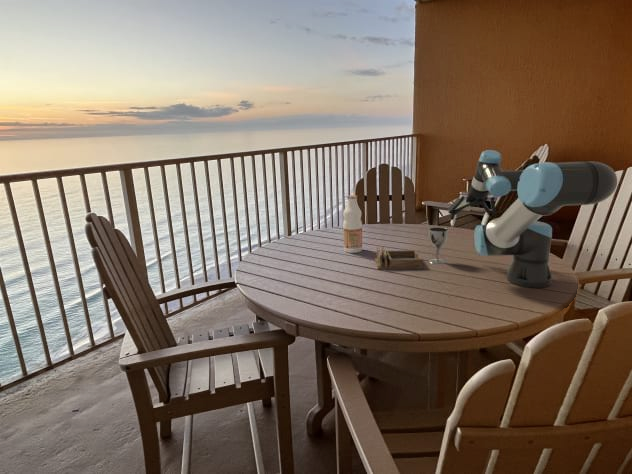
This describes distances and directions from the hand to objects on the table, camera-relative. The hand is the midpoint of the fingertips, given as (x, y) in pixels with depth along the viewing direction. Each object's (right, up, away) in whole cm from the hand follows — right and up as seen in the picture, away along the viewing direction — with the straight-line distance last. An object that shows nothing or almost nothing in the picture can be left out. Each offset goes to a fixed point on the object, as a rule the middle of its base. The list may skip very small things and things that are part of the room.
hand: (467, 224), depth 170 cm
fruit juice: (-49, -13, +23) cm, 56 cm away
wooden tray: (-31, -17, +1) cm, 36 cm away
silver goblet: (-13, -17, +1) cm, 21 cm away
